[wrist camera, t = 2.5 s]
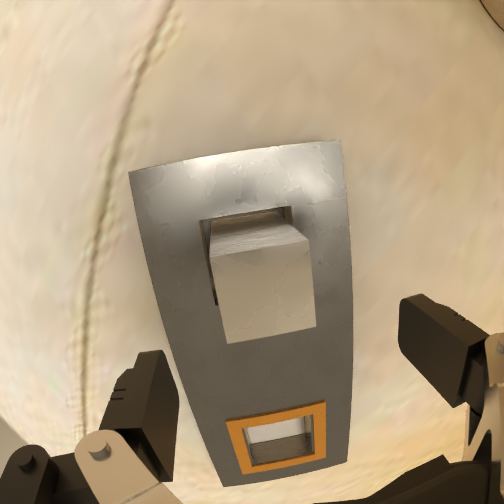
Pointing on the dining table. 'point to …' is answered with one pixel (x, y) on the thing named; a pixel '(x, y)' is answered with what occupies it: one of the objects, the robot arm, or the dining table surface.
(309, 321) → the grey square peg
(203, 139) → the dining table surface
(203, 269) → the grey board with holes
